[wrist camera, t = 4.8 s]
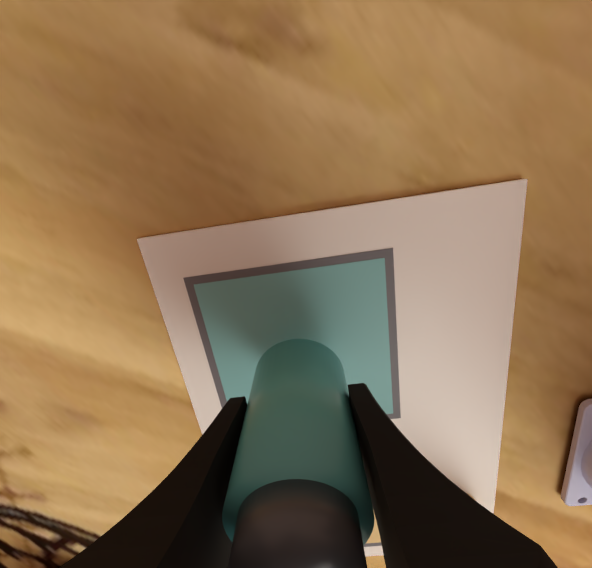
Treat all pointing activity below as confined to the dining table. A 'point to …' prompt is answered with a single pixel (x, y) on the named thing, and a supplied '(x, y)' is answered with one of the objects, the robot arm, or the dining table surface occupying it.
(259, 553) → the teal capped bottle
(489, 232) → the picture card
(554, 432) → the dining table surface
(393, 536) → the robot arm
